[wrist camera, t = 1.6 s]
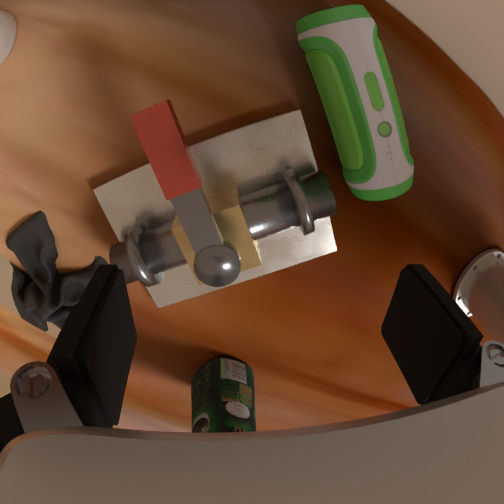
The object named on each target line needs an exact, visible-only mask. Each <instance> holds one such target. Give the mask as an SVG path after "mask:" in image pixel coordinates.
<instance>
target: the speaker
mask: <svg viewBox="0 0 504 504" xmlns="http://www.w3.org/2000/svg"><path fill="white" fill-rule="evenodd" d="M296 32H297V38H298V43H299V46H300V47H301V48H302V49H303V50H304V51H305V53H306V54H305V57H306V60H307V62H308V65H309V67H310V70H311V73H312V75H313V78H314V81H315V83H316V86H317V89H318V92H319V95H320V98H321V100H322V103H323V106H324V109H325V112H326V115H327V118H328V121H329V125H330V128H331V131H332V134H333V137H334V141H335V144H336V147H337V151H338V154H339V158H340V162H341V164H342V165H343V176H344V179H345V181H346V183H347V184H348V186H349V188H350V190H351V191H352V193H353V194H354V195H355V196H356V197H357V198H359V199H362V200H366V201H383V200H388V199H392V198H395V197H398V196H400V195H402V194H404V193H405V192H407V191H408V190H409V189H410V187H411V186H412V183H413V176H414V160H413V158H412V156H411V155H410V153H409V152H410V147H409V142H408V137H407V133H406V128H405V124H404V119H403V115H402V111H401V107H400V103H399V100H398V96H397V92H396V89H395V85H394V82H393V78H392V75H391V72H390V68H389V65H388V62H387V59H386V56H385V53H384V50H383V47H382V44H381V41H380V39H379V38H378V37H377V25H376V24H375V22H374V20H373V19H372V17H371V16H370V14H369V13H368V11H367V10H366V9H365V7H364V6H363V5H345V6H339V7H334V8H329V9H326V10H322V11H319V12H315V13H313V14H310V15H307V16H305V17H303V18H301V19H299V20H297V21H296Z"/></svg>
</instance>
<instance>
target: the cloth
mask: <svg viewBox="0 0 504 504" xmlns="http://www.w3.org/2000/svg"><path fill="white" fill-rule="evenodd" d="M6 245H7V247H8V249H10V250H12V251H13V252H14V253H15V255H16V256H17V258H18V259H19V261H20V262H21V264H22V266H23V267H24V269H25V270H26V271H24V270H23V269H21V268H20V267H18V266H17V265H15V264H14V263H12V262H11V261H9V262H10V264H11V265H12V267H13V270H14V271H13V280H12V285H11V292H12V297H13V300H14V303H15V306H16V308H17V310H18V313H19V314H20V316H21V318H22V319H23V320H25V321H27V322H28V323H30V324H31V325H33V326H35V327H37V328H38V329H40V330H42V331H44V332H46V331H48V326H47V322H46V321H48V322H52V323H54V324H55V325H56V326H58V327H59V328H60V329H62V327H63V325H64V323H65V321H66V319H67V317H68V315H69V313H70V311H71V310H72V308H73V306H74V305H75V304H78V302H79V300H80V298H81V296H82V294H83V292H84V290H85V289H86V287H87V285H88V283H89V281H90V279H91V278H92V276H93V274H94V272H95V271H96V269H97V267H98V266H99V265H100V264H108V263H107V262H106V260H105V259H104V258H103V257H101V256H97V257H96V256H95V260H94V261H93V262H92V264H91V265H90V266H88V267H86V268H84V269H82V270H77V271H72V272H69V273H64V274H60V273H58V271H57V268H56V264H55V261H56V258H57V257H58V253H57V250H56V247H55V241H54V236H53V234H52V231H51V230H50V228H49V225H48V222H47V218H46V215H45V214H44V213H43V212H42V211H38V212H37V213H35V214H34V215H33V216H32V217H31V218H30V219H28V220H27V221H25V222H24V223H23V224H22V225H20V226H19V227H18V228H17V229H16V230H14V231H13V232H12V233H11V234H10V235H9V236H8V238H7V240H6Z"/></svg>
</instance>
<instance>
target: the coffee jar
mask: <svg viewBox="0 0 504 504" xmlns="http://www.w3.org/2000/svg"><path fill="white" fill-rule="evenodd" d="M191 399H192V433H228V432H254V431H256V419H255V398H254V376H253V371H252V369H251V368H250V367H249V366H247V365H246V364H244V363H243V362H240V361H238V360H236V359H232V358H225V357H220V358H214V359H212V360H210V361H209V362H208V363H207V364H205V365H204V366H203V367H202V368H201V369H200V371H199V372H198V373H197V374H196V376H195V377H194V379H193V380H192V386H191Z"/></svg>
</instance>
